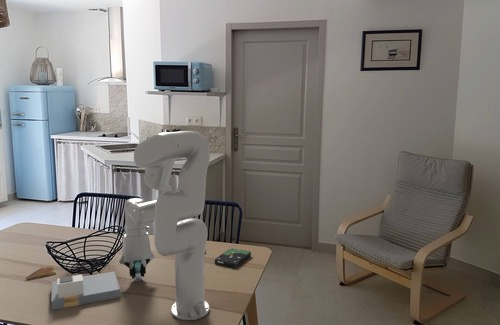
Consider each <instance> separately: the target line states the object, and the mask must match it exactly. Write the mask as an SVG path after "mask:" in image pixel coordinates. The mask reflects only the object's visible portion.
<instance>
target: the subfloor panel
mask: <svg viewBox="0 0 500 325" xmlns="http://www.w3.org/2000/svg"><path fill="white" fill-rule="evenodd" d="M82 277H83V289H84V294H81V295H75V296H70V297H64V298H58V288H57V280H55V281H51V297H50V298H51V300H50V301H51V310H52V311H54V309H55V310H59V309H64V308H71V307H77V306H80V305H85V304H86V305H87V304H92V303H95V302H96V303H97V302H101V301H107V300H111V299H116V298H117V299H118V298H121V287H120V284H119V281H118V279H117V275H116V272H115V271H110V272H109V271H108V272H103V273H97V274H91V275H85V276H83V275H82Z"/></svg>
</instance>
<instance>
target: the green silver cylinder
mask: <svg viewBox="0 0 500 325" xmlns="http://www.w3.org/2000/svg"><path fill="white" fill-rule="evenodd" d="M133 268H134V279H133V282H134V283H140V282H142V281H143V277H142V260H137V261H133Z"/></svg>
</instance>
